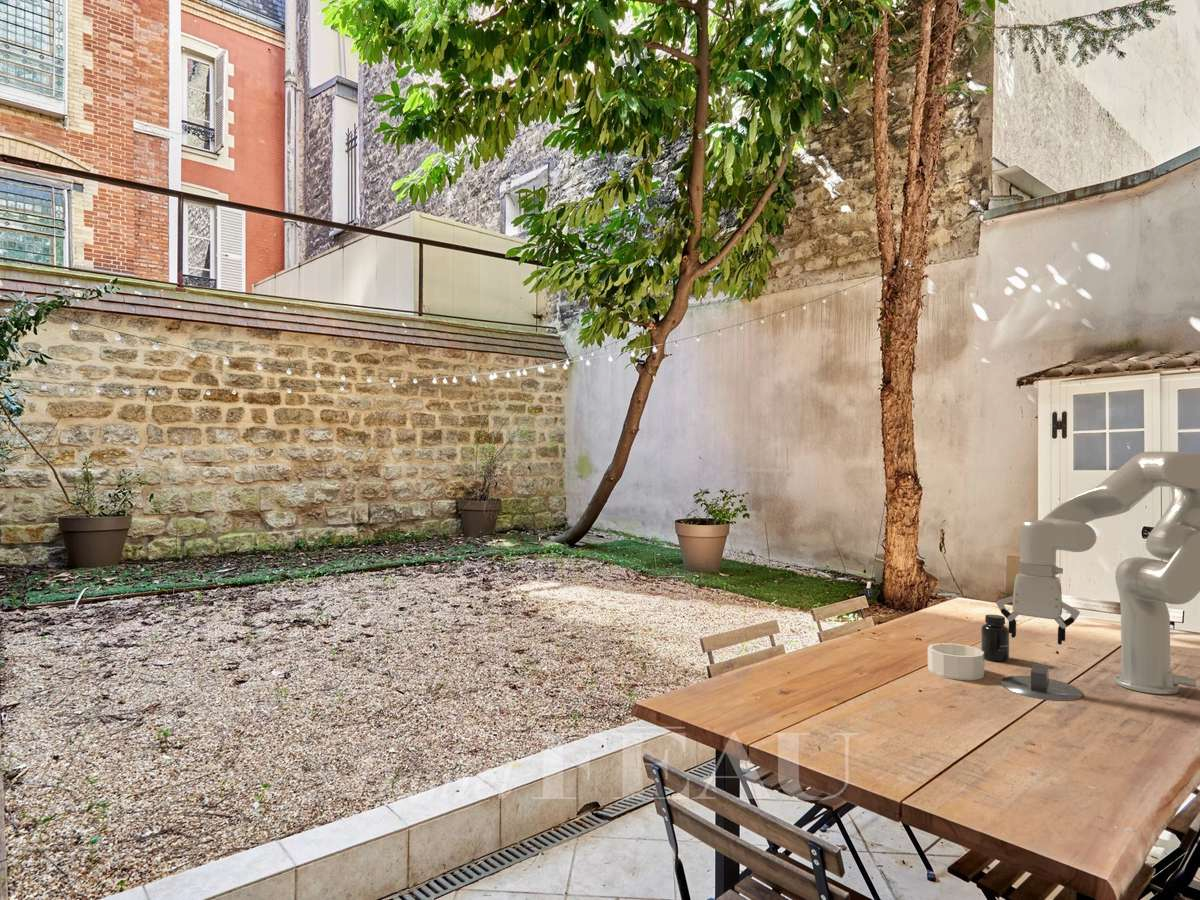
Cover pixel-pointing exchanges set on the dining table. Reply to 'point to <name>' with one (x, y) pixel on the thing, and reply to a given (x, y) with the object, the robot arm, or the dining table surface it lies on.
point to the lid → (1041, 686)
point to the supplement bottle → (995, 639)
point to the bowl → (956, 661)
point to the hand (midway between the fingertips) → (1036, 639)
